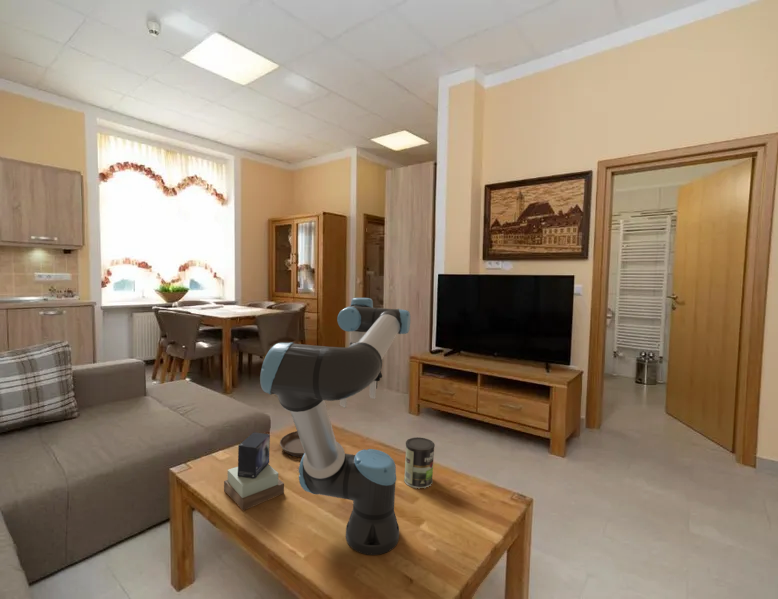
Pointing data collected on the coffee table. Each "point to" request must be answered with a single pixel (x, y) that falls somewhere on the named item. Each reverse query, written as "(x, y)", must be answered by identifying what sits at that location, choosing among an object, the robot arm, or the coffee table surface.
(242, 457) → the small box
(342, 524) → the coffee table surface
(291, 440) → the plant saucer
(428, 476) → the coffee can
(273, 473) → the top slab
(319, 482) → the robot arm
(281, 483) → the base slab
